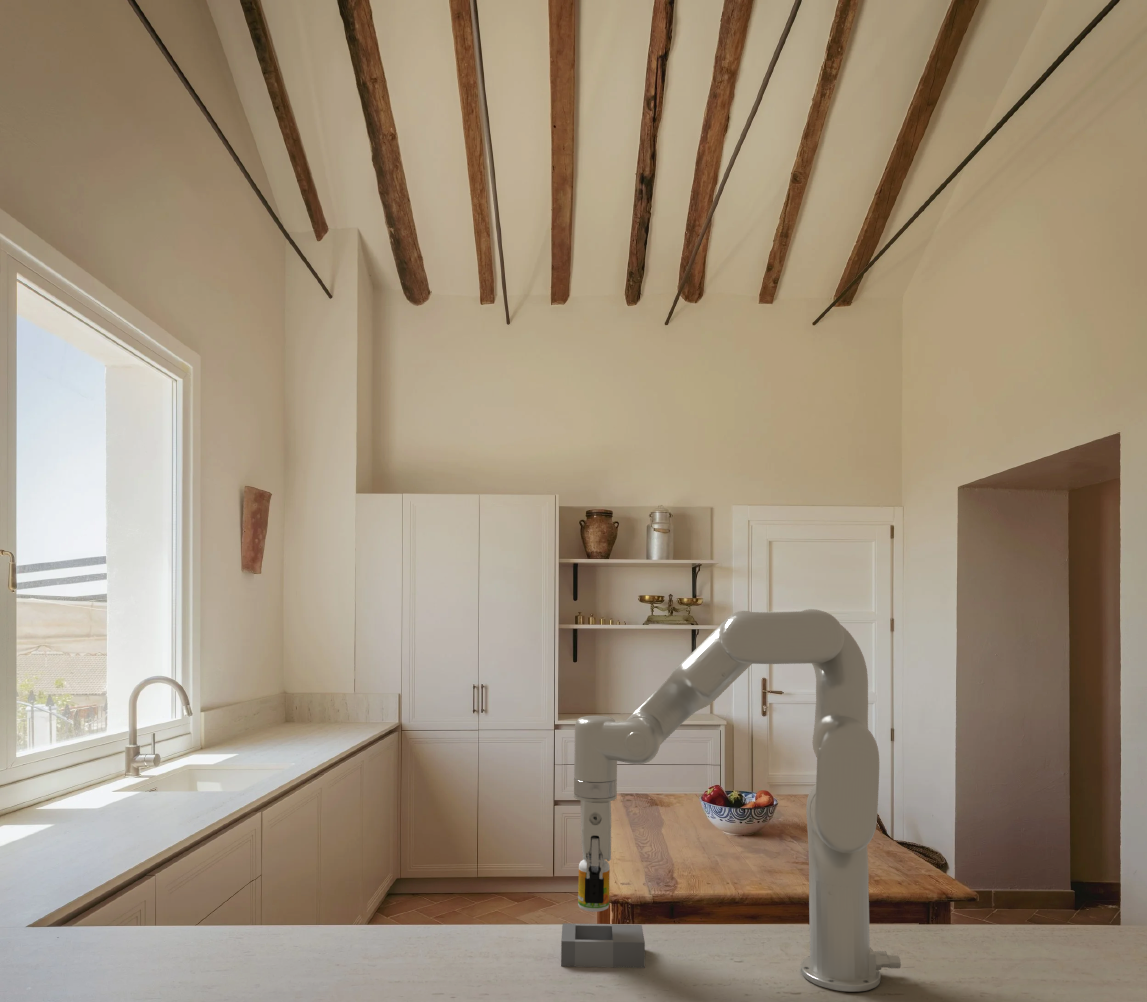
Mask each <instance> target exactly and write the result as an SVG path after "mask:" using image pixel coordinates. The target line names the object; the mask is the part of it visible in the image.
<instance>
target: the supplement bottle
mask: <svg viewBox="0 0 1147 1002" xmlns="http://www.w3.org/2000/svg"><path fill="white" fill-rule="evenodd" d="M589 859H591V856H589ZM599 859H600V856H599ZM586 860H587V859H586ZM590 865H591V863H590ZM599 866H600V863H599ZM610 870H611V869H610V863H609V861H607V859H604V858H603V878H604V901H603V903H586V902H585V878H586V877H587V862H586V861H585V860H584V859H582V860H580V862H579V864H578V880H577V881H578V887H577V888H578V889H577V892H578V893H577V905H578V908H580V909H581V910H583V911H586V912H592V913H593V912H594V913H596V912H603V911H605V910H607V909H609V906H610V873H611V872H610ZM589 878H590V877H589Z"/></svg>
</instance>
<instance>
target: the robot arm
mask: <svg viewBox="0 0 1147 1002" xmlns="http://www.w3.org/2000/svg"><path fill="white" fill-rule="evenodd" d="M752 664H753V665H787V664H788V665H791V664H794V665H795V664H801V665H802V664H803V665H804V664H812V666H813V669H814V675H815V712H814V713H815V715H814V725H813V727H814V728H813V734H812V749H813V752H814V755H815V757H816V774H815V775H816V780H815V784H814V785H813V786H812V787H811V789H810V791H809V793H808V795H807V799H806V810H805V812H806V827H807V841H808V842H807V844H808V845H807V846H808V901H809V902H808V908H809V911H808V912H809V913H808V915H809V917H808V918H809V956H806V957H805V958H803V959H802V960H801V962H800V973H801V975H802V976H803V977H804V978H805V979H806V980H807V981H809V982H810V983H812V984H814V985H815V986H819V987H822V988H824V989H829V990H834V991H837V992H839V991H840V992H848V993H857V992H859V993H860V992H866V991H870V990H872V989H875V988H876V987H878V986H879V984H880V983H881V972H880V971H881V970H882V968H888V969H900V968H901V966H902V964H901V958H900V955H894V954H888V952H887V950H876V951H875V950H873V949H872V947H870V945H871V944H870V941H871V940H870V937H871V936H870V902H869V901H870V900H869V899H870V898H869V897H870V894H869V893H870V892H869V890H870V889H869V880H870V879H869V853H868V845H869V844H870V842H871V841H872V840H873V837H874V836H875V833H876V829H877V824H878V823H877V821H878V805H879V791H880V790H879V787H880V786H879V785H880V784H879V783H880V782H879V781H880V752H879V747H878V743H877V741H876V738H875V736H874V735H873V734H872V732H871V731H870V730H869V678H868V676H869V675H868V668H867V664H866V660H865V656H864V655H863V651H862V650H861V647H860V646H859V644H858V642H857V641H856V640H855V638H854V637H853V635H852V634H851V632H849V630H848V629H846V627H845V626H843V625H842V624H841V623H840V621H839V620H838V619H837V618H836V617H835V616H834V615H832V614H831V613H829V612H826V611H824V610H820V609H812V608H810V609H809V608H808V609H804V610H801V611H779V612H778V611H777V612H775V611H774V612H773V611H772V612H765V611H764V612H763V611H762V612H759V611H756V612H755V611H750V610H739V611H736V612H733V613H732V614H731V615H729V616H728V617H726V619H725V620H724V621H722V622H721V624H719V625H718V626H717V628H715V629H714V631H712V632H711V633H710V634H709V635H708V636H707V638H705V639H704V640H703V641H702V642H701V643H700V644H699V645H698V646H697V647H696V648H695V649H694V650H693V651H692V652H691V653H689V655H688V656H687V657H685V659H683V661H682V662H681V663H679V665H677V667H676V668H674V670H672V672H671V674H670V675H669V677H668V678H667V679H666V680H664V682H663V683H662V684H661V685H660V686H659V688H657V689H656V690H655V691H654V692H653V693H652V694H651V695H650V696H649V697H648V698H647V699H646V700H645V701H644V702H643V703H642V704H641V705H640V706H639V707H638V708H637V709H635V711H634V712H633V713H632V714H630V716H628V718H626V719H625V720H623V721H616V720H615V719H614V718H612V717H610V716H605V715H586V716H581V717H579V718H578V719H577V720H576V721H575V723H574V724H575V725H574V760H573V761H574V762H573V763H574V764H573V765H574V766H573V768H574V769H573V798H574V799H575V800H577V801H580V840H581V844H580V845H581V851H582V860H585V861H586V862H587V877H586V878H585V902H586V903H603V901H604V878H603V858H604V860H606V861H607V862H610V861H611V859H612V801H615V800H616V799H617V794H618V793H617V792H618V786H617V785H618V762H621V763H625V764H632V765H645V764H647V763H649V762H650V761H652V760H654V758H655V757H656V756H657V754H658V752H659V749H660V747H661V745H662V744H663V743H664V742H665V741H666V740H667V739H668V738H670V736H671V735H672V734H673V733H674V732H675V731H676V730H677V729H679V727H680V726H682V724H683V723H684V722H686V721H687V720H688V719H689V718H690V717H691V716H693V715H694V714H695V713H696V712H699V711H700V710H702V709H704V708H706V707H708V706H710V705H711V704H712V703H714V702H715V701H716V700H717V699H718V698H719V697H720V696H721V695H722V694H723V693H724V692H725V691H726V690H727V689H728V688H729V687H730V686H731V685H732V684H733V683H734V682H735V681H736V680H737V679H739V677H740V676H741V675H742V674H744V672H746V671H747V669H749V667H750V666H751V665H752ZM589 856H591V859H589ZM599 856H600V859H599ZM586 859H587V860H586ZM590 863H591V865H590ZM599 863H600V866H599ZM589 877H590V878H589Z"/></svg>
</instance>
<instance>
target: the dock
mask: <svg viewBox="0 0 1147 1002" xmlns="http://www.w3.org/2000/svg"><path fill="white" fill-rule="evenodd" d="M561 925H562V926H561V941H560V942H561V943H560V944H561V946H560V947H561V948H560V949H561V951H560V955H561V956H560V965H561V966H560V967H582V968H583V967H586V968H587V967H589V968H594V967H595V968H597V967H598V968H637V969H638V968H639V969H641V968H643V969H645V966H646V965H645V964H646V961H645V960H646V953H645V952H646V942H645V936H644V930H643V925H642V924H621V923H620V924H617V923H616V924H615V923H614V924H613V923H609V924H607V923H562V924H561Z"/></svg>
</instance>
